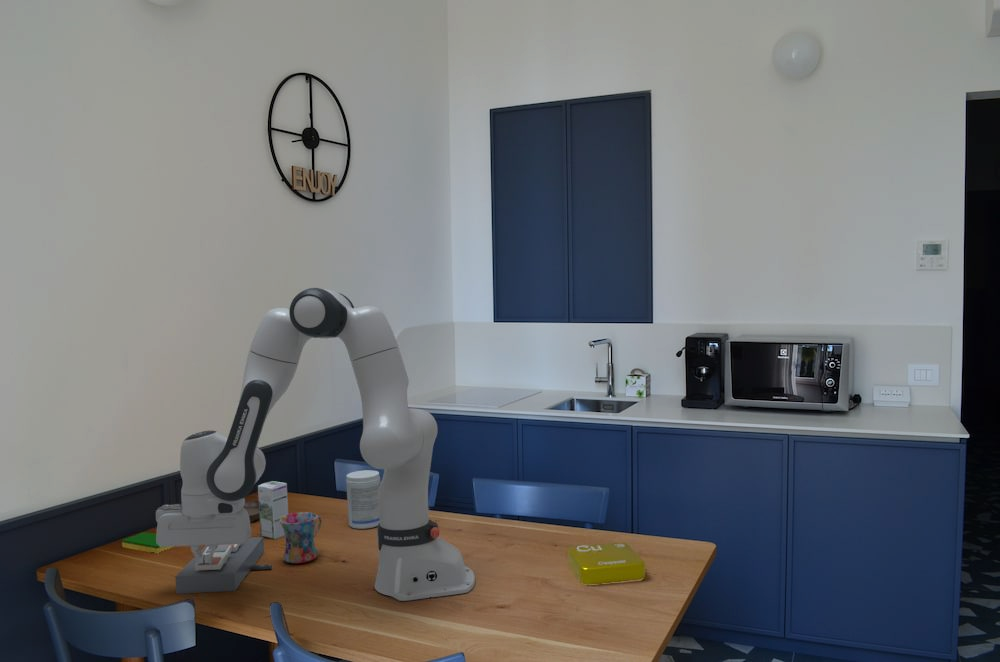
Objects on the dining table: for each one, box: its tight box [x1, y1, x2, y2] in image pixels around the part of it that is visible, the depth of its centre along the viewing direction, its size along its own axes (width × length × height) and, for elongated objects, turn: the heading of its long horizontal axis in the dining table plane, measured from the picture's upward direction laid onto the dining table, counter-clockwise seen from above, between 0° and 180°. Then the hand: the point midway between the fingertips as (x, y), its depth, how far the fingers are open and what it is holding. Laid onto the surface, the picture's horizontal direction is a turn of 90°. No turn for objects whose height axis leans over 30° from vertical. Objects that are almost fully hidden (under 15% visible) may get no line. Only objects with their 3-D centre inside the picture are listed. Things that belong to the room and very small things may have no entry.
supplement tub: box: [345, 469, 381, 530], centre depth 215 cm, size 10×10×15 cm
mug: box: [279, 511, 323, 564], centre depth 190 cm, size 12×9×11 cm
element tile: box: [567, 542, 646, 585], centre depth 174 cm, size 15×15×5 cm
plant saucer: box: [243, 499, 260, 523], centre depth 226 cm, size 18×18×3 cm
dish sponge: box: [121, 531, 176, 554], centre depth 203 cm, size 7×14×2 cm, turn 63°
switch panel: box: [175, 536, 273, 595], centre depth 182 cm, size 18×25×4 cm
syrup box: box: [257, 480, 289, 540], centre depth 208 cm, size 6×6×14 cm
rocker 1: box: [195, 545, 232, 571], centre depth 176 cm, size 6×9×2 cm, turn 3°
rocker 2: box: [223, 544, 242, 552], centre depth 188 cm, size 6×9×2 cm, turn 3°
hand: (205, 563), depth 171 cm, fingers closed, pressing on rocker 1
